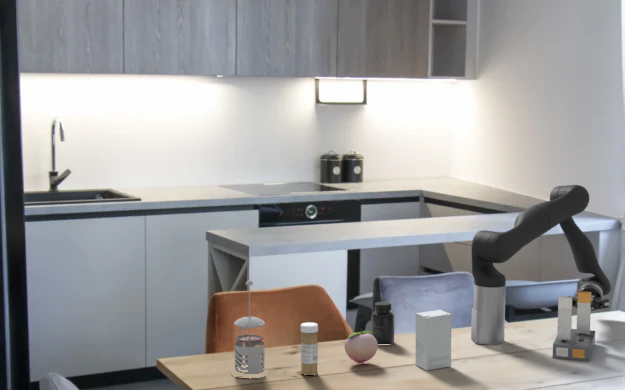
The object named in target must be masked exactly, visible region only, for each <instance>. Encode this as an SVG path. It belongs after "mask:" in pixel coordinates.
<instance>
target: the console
mask: <svg viewBox="0 0 625 390" xmlns="http://www.w3.org/2000/svg"><path fill="white" fill-rule="evenodd" d="M576 332H577V328H571V340H565V339H557V336H556V337H555V339H554V341H553V343H552V359H559V360H560V359H561V360H570V361H579V362H588V363H589V362H591V359H592V355H593V353H594V352H593V351H594V348H595V345H596V330H592V329H590V334H583V333H576Z"/></svg>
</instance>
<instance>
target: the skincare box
mask: <svg viewBox="0 0 625 390" xmlns="http://www.w3.org/2000/svg"><path fill="white" fill-rule="evenodd" d="M415 366H417V367H418V368H421V369H422V370H425V371H430V370H436V369H437V370H438V369H442V368H443V369H444V368H447V367H451V366H452V313H449V312H447V311H444V310H442V309H437V310H436V309H435V310H428V311H422V312H415Z"/></svg>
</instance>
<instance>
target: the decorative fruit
mask: <svg viewBox="0 0 625 390" xmlns="http://www.w3.org/2000/svg"><path fill="white" fill-rule="evenodd" d="M371 334H372V335H371ZM373 335H374V334H373V333H372V332H371V331H370V330H363V328H360V331H359V332H352V333H350V334H349V335H348V337H347V338H346V340H345V342H344V351H345V353H346V355H347V356H348V357H349V359H351V360H352V361H353V362H355V363H356V364H358V363H362V364H363V363H365V362H368V361H370V360H372V358H373V357H374V356H375V355H376V353H377V351H378V348H379V347H378V346H379V345H378V344H377V340H376V338H375V337H374V336H373Z"/></svg>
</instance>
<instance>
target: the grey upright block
mask: <svg viewBox="0 0 625 390" xmlns="http://www.w3.org/2000/svg"><path fill="white" fill-rule="evenodd" d="M569 296H570V295H569ZM569 296H567V295H559V296H558V303H557V304H558V305H557V309H558V310H557V335H556V337H557V339H565V340H571V329H572V316H573V315H572V313H573V306H572V297H573V296H571V297H569Z"/></svg>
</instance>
